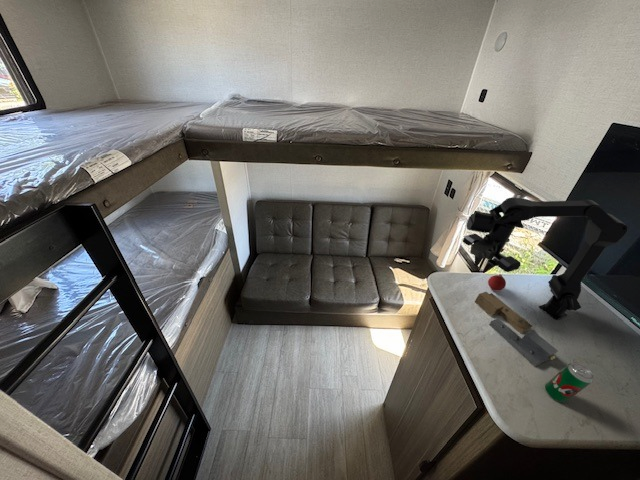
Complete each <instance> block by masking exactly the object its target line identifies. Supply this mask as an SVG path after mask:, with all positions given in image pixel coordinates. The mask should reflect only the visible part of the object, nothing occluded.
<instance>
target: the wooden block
mask: <svg viewBox="0 0 640 480" xmlns="http://www.w3.org/2000/svg"><path fill="white" fill-rule="evenodd" d="M474 303H476V305H477V306H479V307H480V308H481V309H482V310H483V311H484V312H485V313H487V315H489V316H490V317H492V318H493V317H496V316H498V315H499V316H500V317H501V318H502V319H503V320H504V321H506V322H507V323H508V324H510V325H511V326H512V327H513V328H514V329H515V330H516V331H517V332H519V333H520V334H523V333H525V332H526V333H527V331H530V330H531V329H532V328H533V325H532V324H531V323H530V322H528V321H527V320H526V319H525V318H523V316H521V315H520V314H518V313H517V312H516V311H515V310H514V309H512V308H511V307H509V305H507V304H506V303H505V302H503V301H502V300H501V299H499V298H498V297H497V296H496V295H494V293H492V292H491V293H489V292H487V291H484V292H480V293H478V295H477V297H476V298H475V300H474Z"/></svg>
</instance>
